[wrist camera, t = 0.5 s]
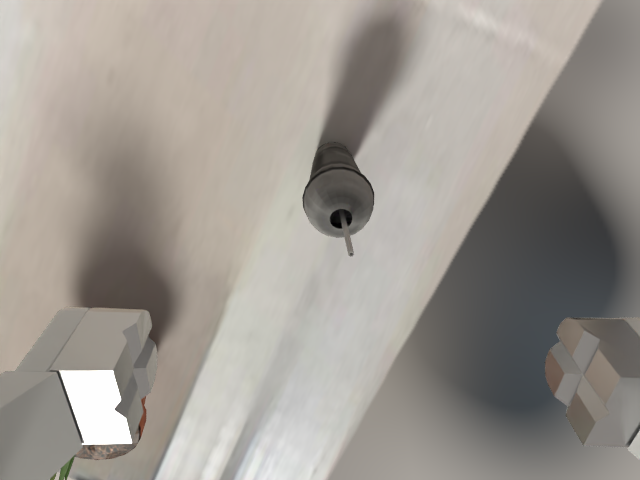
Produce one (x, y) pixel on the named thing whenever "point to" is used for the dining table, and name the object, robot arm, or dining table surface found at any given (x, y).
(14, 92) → the dining table surface
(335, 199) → the beverage cup
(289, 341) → the dining table surface
